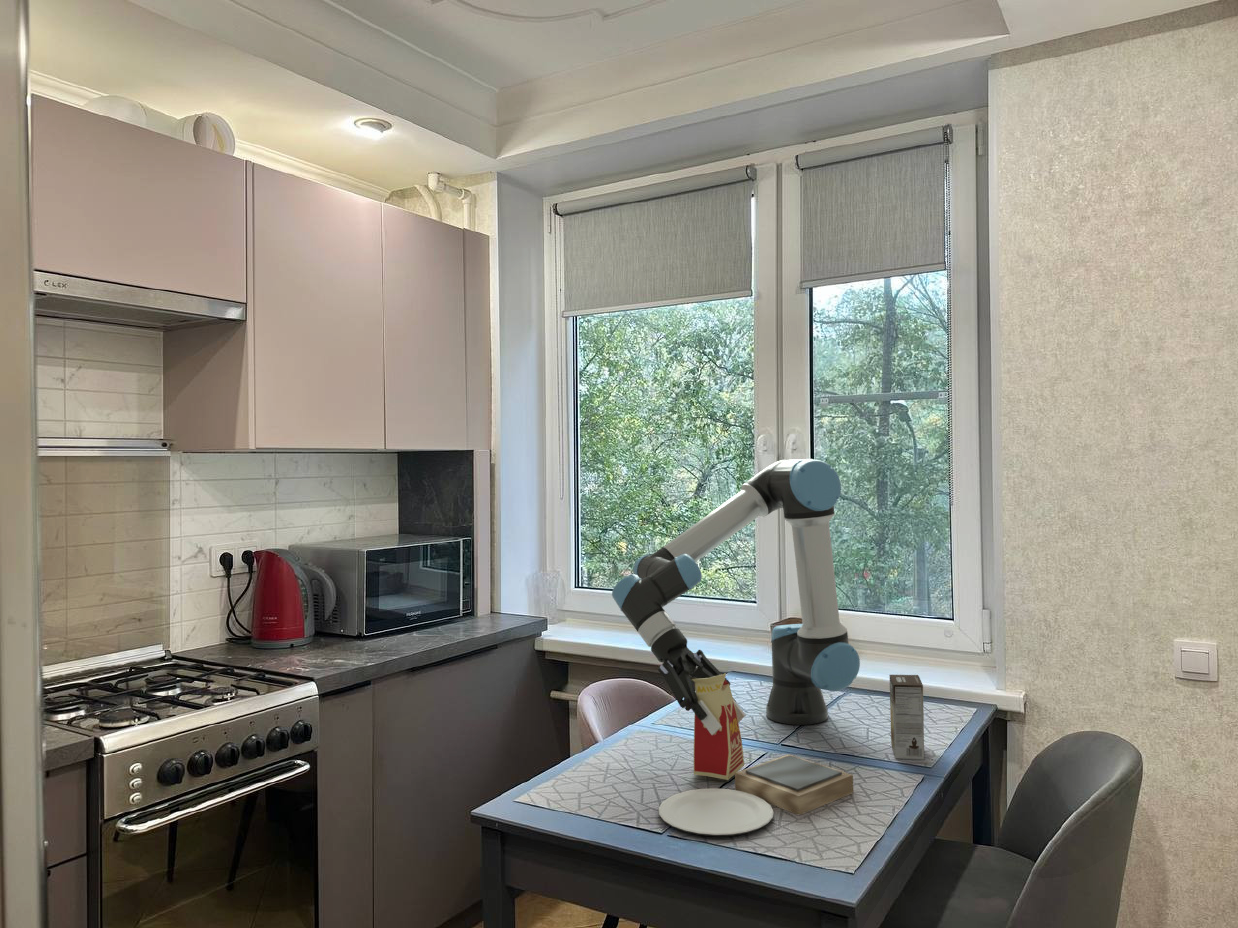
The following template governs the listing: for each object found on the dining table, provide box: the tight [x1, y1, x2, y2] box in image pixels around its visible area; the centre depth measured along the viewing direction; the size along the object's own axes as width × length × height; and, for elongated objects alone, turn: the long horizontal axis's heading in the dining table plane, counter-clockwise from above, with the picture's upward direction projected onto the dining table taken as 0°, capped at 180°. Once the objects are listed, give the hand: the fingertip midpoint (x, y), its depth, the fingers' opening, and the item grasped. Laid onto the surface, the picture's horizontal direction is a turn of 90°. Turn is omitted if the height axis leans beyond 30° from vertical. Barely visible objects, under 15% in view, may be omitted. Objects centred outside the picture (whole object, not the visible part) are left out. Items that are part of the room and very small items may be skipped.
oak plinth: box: [734, 754, 854, 816], centre depth 170 cm, size 16×16×4 cm
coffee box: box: [889, 674, 925, 761], centre depth 191 cm, size 9×6×16 cm
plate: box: [658, 787, 775, 837], centre depth 159 cm, size 21×21×2 cm
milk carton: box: [690, 673, 745, 781], centre depth 179 cm, size 9×9×20 cm
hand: (729, 724), depth 177 cm, fingers closed on milk carton, 8 cm apart
